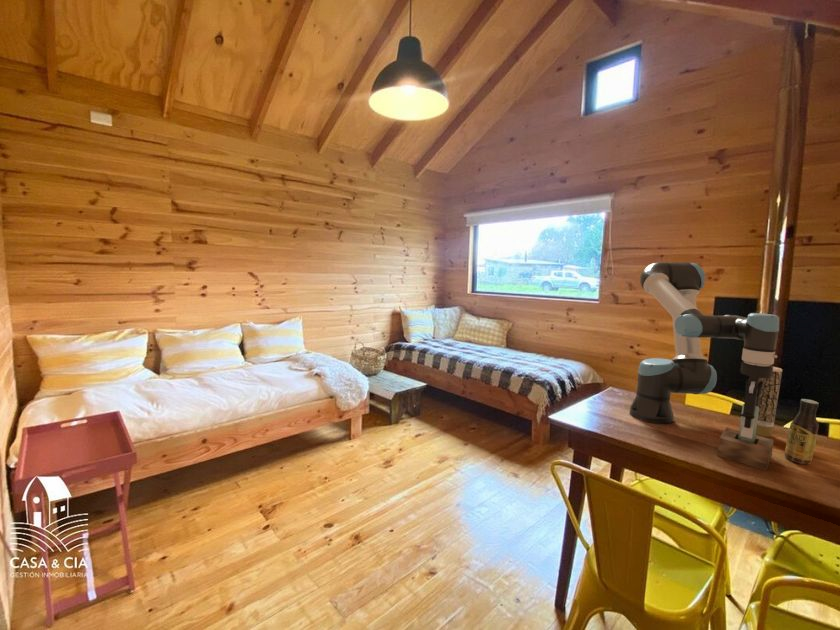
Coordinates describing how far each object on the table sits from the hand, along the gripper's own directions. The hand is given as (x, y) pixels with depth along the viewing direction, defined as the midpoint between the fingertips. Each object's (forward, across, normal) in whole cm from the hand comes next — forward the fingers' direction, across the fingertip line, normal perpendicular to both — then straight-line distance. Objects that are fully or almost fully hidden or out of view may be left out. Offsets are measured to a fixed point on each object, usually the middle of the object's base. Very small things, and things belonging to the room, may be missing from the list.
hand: (747, 434), depth 123 cm
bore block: (+7, 0, 0) cm, 7 cm away
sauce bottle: (+8, +10, -12) cm, 17 cm away
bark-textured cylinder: (+8, +27, -1) cm, 28 cm away
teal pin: (+5, 0, 0) cm, 5 cm away
